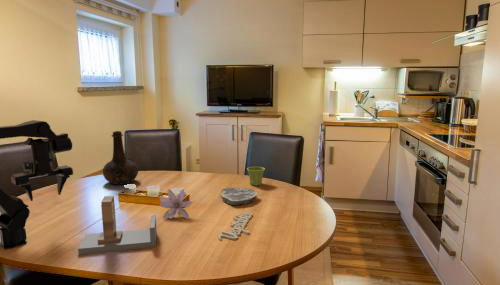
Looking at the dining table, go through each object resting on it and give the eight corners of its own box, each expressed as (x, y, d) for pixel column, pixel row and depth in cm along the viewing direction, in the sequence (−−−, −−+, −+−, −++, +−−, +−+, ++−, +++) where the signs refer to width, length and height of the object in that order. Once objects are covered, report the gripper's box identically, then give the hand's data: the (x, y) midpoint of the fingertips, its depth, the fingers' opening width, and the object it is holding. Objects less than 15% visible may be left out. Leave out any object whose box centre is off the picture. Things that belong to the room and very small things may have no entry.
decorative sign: (243, 241, 122) (216, 238, 124) (243, 244, 122) (216, 240, 124) (259, 213, 147) (236, 211, 149) (259, 215, 147) (236, 213, 150)
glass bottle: (145, 180, 196) (142, 130, 191) (118, 189, 181) (114, 135, 176) (124, 176, 205) (121, 128, 200) (96, 183, 190) (92, 132, 185)
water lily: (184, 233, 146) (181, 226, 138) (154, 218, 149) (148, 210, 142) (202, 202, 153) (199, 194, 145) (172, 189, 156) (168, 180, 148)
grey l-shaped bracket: (78, 254, 114) (76, 234, 113) (86, 239, 124) (84, 220, 123) (155, 247, 119) (154, 227, 118) (156, 233, 130) (155, 215, 128)
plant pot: (244, 182, 193) (244, 167, 191) (261, 181, 196) (261, 165, 194) (250, 187, 184) (250, 171, 183) (267, 186, 187) (267, 170, 185)
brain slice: (263, 203, 161) (263, 197, 161) (228, 208, 155) (228, 202, 155) (248, 191, 179) (248, 185, 179) (215, 195, 173) (215, 189, 172)
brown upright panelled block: (120, 241, 119) (117, 201, 116) (97, 243, 117) (94, 202, 115) (122, 233, 124) (119, 195, 122) (101, 235, 123) (98, 196, 120)
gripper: (60, 148, 138) (63, 187, 141) (3, 156, 124) (9, 199, 127) (72, 152, 131) (75, 193, 134) (13, 161, 117) (19, 206, 120)
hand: (45, 197), depth 129 cm, fingers open, 9 cm apart
